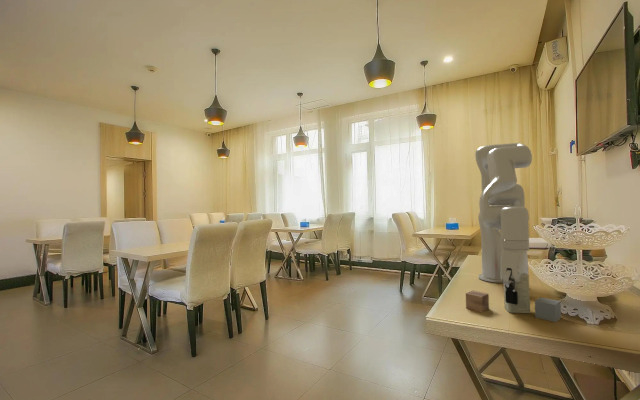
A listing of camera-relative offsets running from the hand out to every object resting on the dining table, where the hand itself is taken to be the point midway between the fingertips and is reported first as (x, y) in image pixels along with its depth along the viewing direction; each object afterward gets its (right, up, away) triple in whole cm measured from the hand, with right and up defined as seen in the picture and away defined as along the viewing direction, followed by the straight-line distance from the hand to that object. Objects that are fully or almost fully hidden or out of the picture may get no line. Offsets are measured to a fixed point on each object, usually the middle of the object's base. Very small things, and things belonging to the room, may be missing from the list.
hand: (516, 300), depth 95 cm
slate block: (+6, -3, -6) cm, 9 cm away
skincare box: (0, -4, 0) cm, 4 cm away
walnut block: (-11, -4, +3) cm, 12 cm away
